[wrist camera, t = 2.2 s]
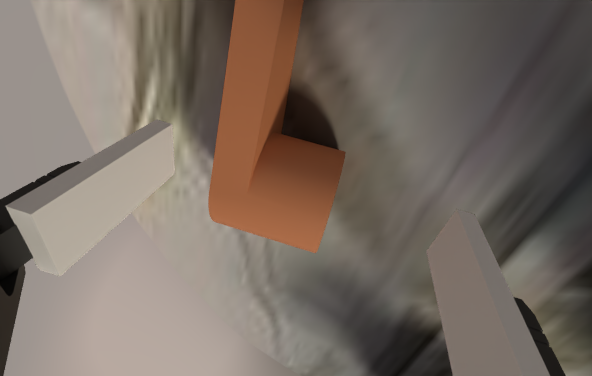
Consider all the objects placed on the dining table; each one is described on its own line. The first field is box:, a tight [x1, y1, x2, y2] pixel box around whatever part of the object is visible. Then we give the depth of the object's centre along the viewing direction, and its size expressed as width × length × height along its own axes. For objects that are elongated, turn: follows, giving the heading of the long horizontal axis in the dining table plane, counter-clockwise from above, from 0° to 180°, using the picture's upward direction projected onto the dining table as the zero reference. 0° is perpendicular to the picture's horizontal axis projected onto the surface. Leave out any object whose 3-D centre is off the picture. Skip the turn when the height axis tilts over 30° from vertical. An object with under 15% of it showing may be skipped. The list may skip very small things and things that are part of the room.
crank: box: [209, 0, 345, 253], centre depth 19 cm, size 20×8×8 cm, turn 170°
